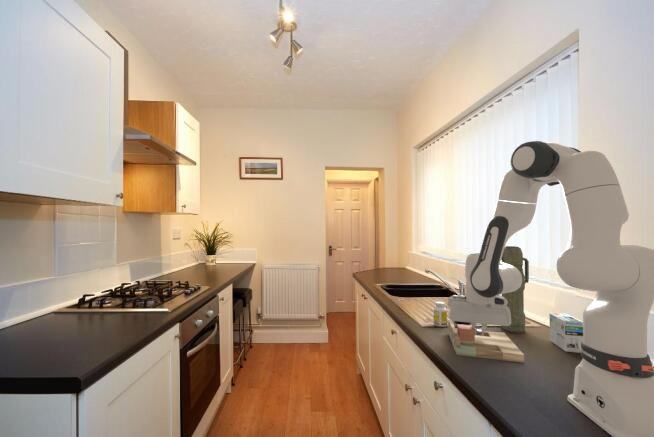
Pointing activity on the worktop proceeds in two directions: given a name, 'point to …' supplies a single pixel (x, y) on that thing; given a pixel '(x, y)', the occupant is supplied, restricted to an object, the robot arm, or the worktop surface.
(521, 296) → the thermos
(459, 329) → the block
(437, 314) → the supplement bottle
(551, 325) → the light bulb box
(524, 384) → the worktop surface
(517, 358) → the board
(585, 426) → the worktop surface
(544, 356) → the worktop surface
